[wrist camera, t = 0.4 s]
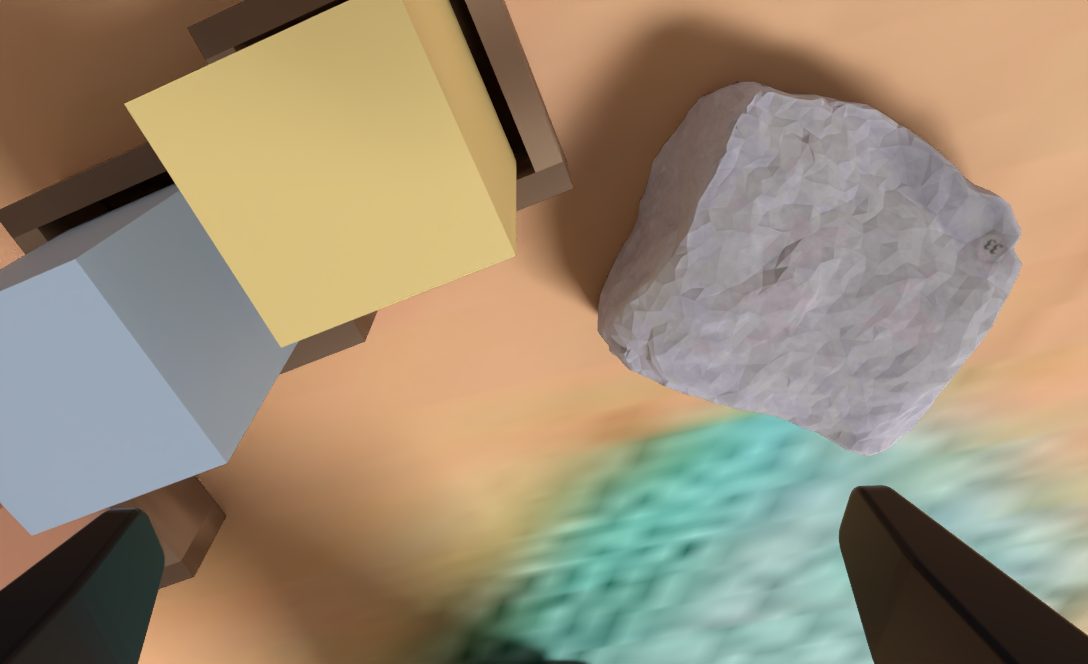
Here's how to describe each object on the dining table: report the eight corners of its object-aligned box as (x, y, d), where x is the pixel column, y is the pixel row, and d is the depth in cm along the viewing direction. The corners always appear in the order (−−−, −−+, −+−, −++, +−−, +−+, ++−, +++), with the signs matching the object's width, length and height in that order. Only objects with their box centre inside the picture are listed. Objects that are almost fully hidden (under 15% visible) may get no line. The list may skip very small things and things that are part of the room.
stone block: (684, 51, 24) (570, 332, 26) (743, 36, 19) (599, 379, 21) (975, 182, 26) (850, 426, 28) (1088, 196, 22) (929, 487, 24)
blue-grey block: (314, 313, 22) (227, 463, 15) (173, 369, 23) (31, 535, 16) (222, 161, 20) (75, 259, 13) (70, 228, 21) (-143, 352, 14)
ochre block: (516, 160, 20) (516, 256, 14) (356, 226, 21) (281, 347, 14) (438, -25, 18) (393, -20, 12) (263, 55, 19) (124, 104, 12)
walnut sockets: (645, 365, 26) (661, 413, 24) (69, 572, 30) (21, 636, 27) (468, -91, 20) (460, -101, 17) (-244, 242, 23) (-351, 280, 20)
